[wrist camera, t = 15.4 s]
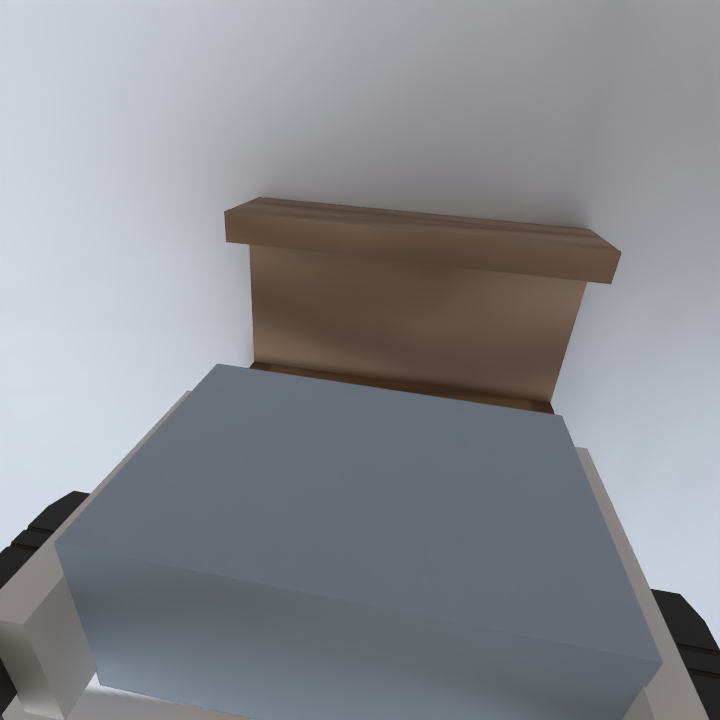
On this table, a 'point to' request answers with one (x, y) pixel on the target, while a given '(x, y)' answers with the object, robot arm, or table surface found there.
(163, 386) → the table surface
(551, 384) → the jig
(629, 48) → the table surface
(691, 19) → the table surface
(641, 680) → the blue-grey rectangular block
